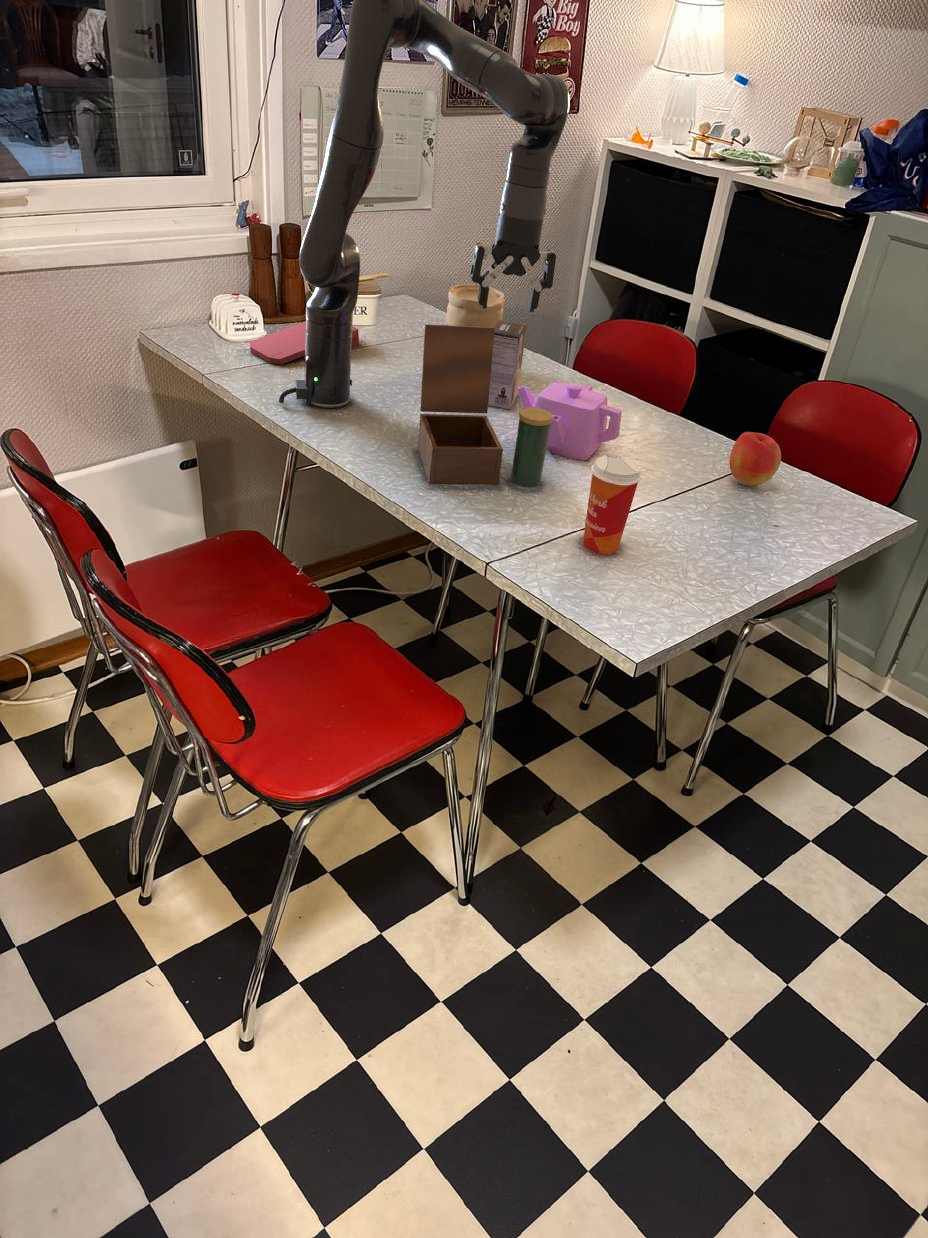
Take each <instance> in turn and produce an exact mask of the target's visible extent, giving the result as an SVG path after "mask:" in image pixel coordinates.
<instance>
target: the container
mask: <svg viewBox="0 0 928 1238" xmlns="http://www.w3.org/2000/svg"><path fill="white" fill-rule="evenodd" d="M488 287H489V294H488V301H487V307H486V309H482V308H481V306H480V305H479V303H478V292H479V284H476V283H474V284H473V283H470V284H467V283H462V284H456V285H452V286H451V287H449V289H448V303H447V309H446V316H445V317H446V319H445V322H446V325H451V326H472V327H493V328H495V327H496V325H497V323H498V322H499V320H501V321H503V314H504V306H505V293H504V292H503V291H501V290H499V289H496V288H494V287H491V286H488Z"/></svg>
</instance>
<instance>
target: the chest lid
mask: <svg viewBox="0 0 928 1238" xmlns="http://www.w3.org/2000/svg"><path fill="white" fill-rule="evenodd" d="M494 330H495V328H493V327H472V326H451V325H447V324H429V323H428V324H427V323H425V324H424V334H423V354H422V372H421V373H422V375H421V389H420V390H421V391H420V409H419V410H420V412H422V413H452V414H453V413H458V414H488V411H489V405H488V401H489V389H490V377H491V366H492V354H493V342H494Z"/></svg>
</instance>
